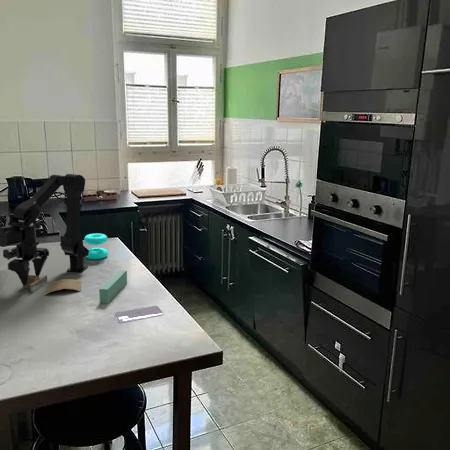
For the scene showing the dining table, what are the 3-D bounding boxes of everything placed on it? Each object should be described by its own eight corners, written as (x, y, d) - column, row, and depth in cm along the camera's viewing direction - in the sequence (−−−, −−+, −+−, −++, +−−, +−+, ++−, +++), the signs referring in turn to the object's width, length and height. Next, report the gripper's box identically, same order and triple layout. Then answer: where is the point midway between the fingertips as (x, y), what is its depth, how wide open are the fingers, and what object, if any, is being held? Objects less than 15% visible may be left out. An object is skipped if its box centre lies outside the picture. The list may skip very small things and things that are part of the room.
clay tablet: (82, 283, 176) (82, 276, 175) (84, 293, 167) (84, 286, 166) (42, 287, 171) (42, 280, 170) (42, 297, 162) (41, 290, 161)
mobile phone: (164, 313, 148) (118, 321, 142) (164, 315, 149) (118, 324, 142) (157, 304, 155) (113, 312, 148) (157, 307, 155) (113, 314, 149)
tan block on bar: (17, 291, 165) (16, 281, 165) (32, 281, 175) (31, 271, 174) (33, 292, 165) (33, 282, 164) (47, 282, 174) (46, 272, 174)
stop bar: (119, 282, 176) (119, 269, 175) (127, 282, 176) (126, 270, 175) (99, 302, 157) (99, 288, 156) (108, 303, 157) (107, 289, 155)
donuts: (103, 238, 199) (80, 238, 200) (104, 260, 202) (82, 259, 202) (109, 233, 209) (88, 232, 209) (110, 253, 211) (89, 253, 212)
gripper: (20, 232, 176) (24, 271, 179) (-9, 246, 158) (-5, 288, 161) (48, 234, 174) (51, 272, 178) (21, 247, 156) (25, 290, 160)
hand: (31, 280), depth 170 cm, fingers open, 9 cm apart
